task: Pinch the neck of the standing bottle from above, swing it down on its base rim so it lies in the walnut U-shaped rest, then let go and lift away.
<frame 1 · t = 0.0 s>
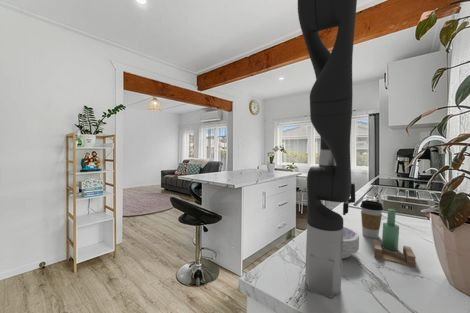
hand: (329, 212, 70), 17 cm above the counter, tool pointing down, fingers open, 8 cm apart
cradle: (392, 256, 75), on the counter
coffee cup: (370, 235, 93), on the counter
paper bowls: (334, 252, 77), on the counter
bottle: (389, 248, 81), on the counter
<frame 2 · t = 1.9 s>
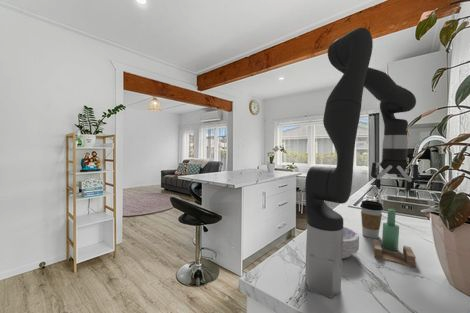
hand: (392, 190, 80), 23 cm above the counter, tool pointing down, fingers open, 8 cm apart
nothing on the counter moved.
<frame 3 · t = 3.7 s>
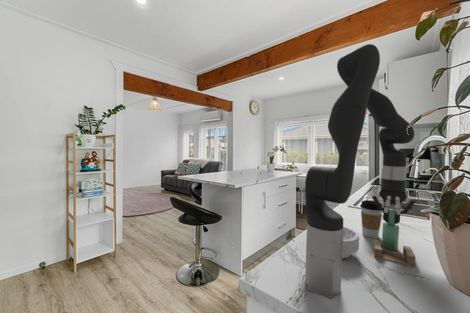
hand: (391, 222, 81), 10 cm above the counter, tool pointing down, fingers closed on bottle, 2 cm apart
bottle: (389, 248, 81), on the counter, touching gripper
everything else where it was.
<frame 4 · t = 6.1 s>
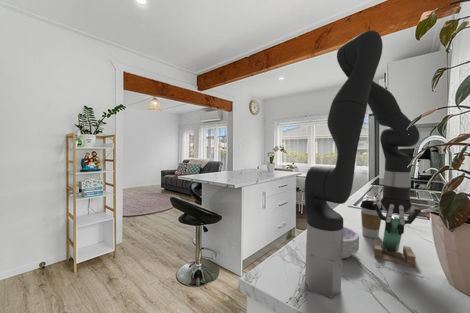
hand: (394, 233, 73), 9 cm above the counter, tool pointing down, fingers closed on bottle, 2 cm apart
bottle: (390, 245, 80), point 1 cm above the counter, tilted 33°, touching cradle, gripper
everything else where it was.
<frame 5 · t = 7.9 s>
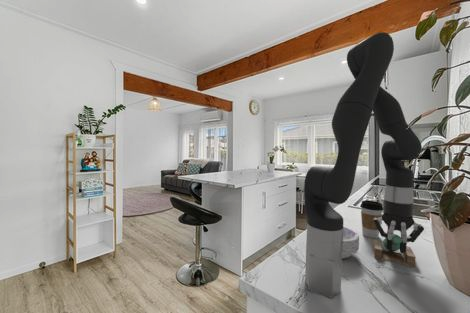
hand: (395, 250, 69), 5 cm above the counter, tool pointing down, fingers closed on bottle, 2 cm apart
bottle: (391, 244, 79), point 2 cm above the counter, tilted 62°, touching cradle, gripper
everything else where it was.
when the fingers open (3 cm above the counter, at t = 8.5 s): bottle moves 1 cm and tips over, resting on cradle.
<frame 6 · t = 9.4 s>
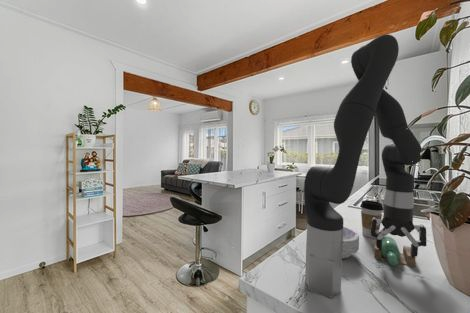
hand: (395, 253, 69), 4 cm above the counter, tool pointing down, fingers open, 8 cm apart
bottle: (388, 243, 79), point 3 cm above the counter, tilted 90°, touching cradle
everything else where it was.
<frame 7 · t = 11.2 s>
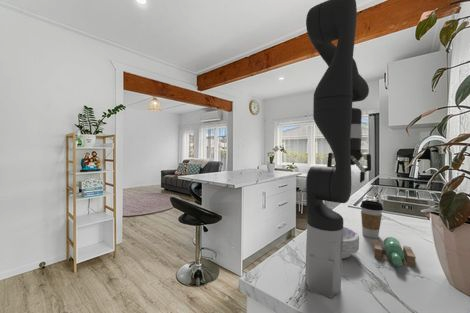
hand: (347, 181, 78), 26 cm above the counter, tool pointing down, fingers open, 8 cm apart
bottle: (391, 243, 79), point 3 cm above the counter, tilted 90°, touching cradle
everything else where it was.
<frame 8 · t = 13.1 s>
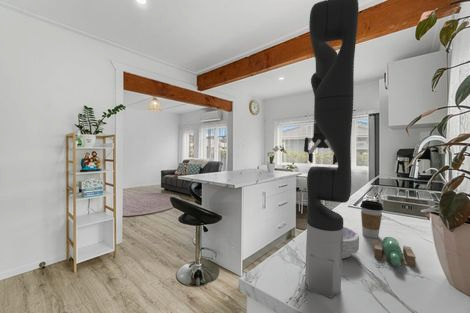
hand: (322, 163, 84), 32 cm above the counter, tool pointing down, fingers open, 8 cm apart
nothing on the counter moved.
at the end: bottle tilted 90°; bottle inside the target area (0.2 cm from its centre), point 2.8 cm above the counter; the gripper is holding nothing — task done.
